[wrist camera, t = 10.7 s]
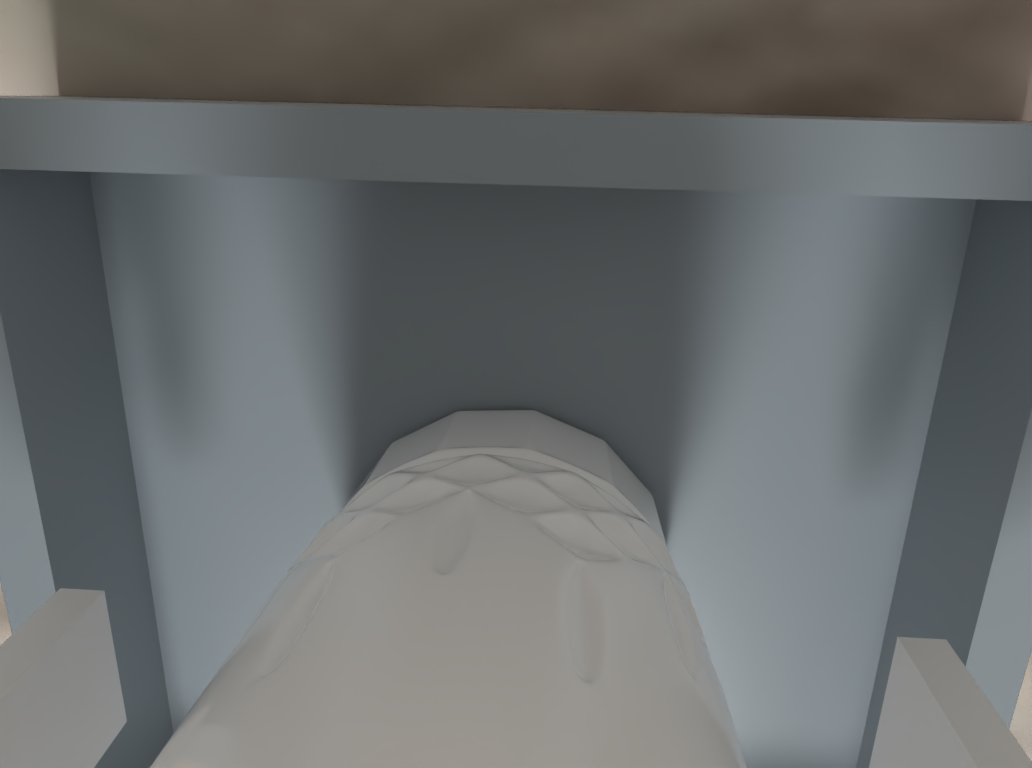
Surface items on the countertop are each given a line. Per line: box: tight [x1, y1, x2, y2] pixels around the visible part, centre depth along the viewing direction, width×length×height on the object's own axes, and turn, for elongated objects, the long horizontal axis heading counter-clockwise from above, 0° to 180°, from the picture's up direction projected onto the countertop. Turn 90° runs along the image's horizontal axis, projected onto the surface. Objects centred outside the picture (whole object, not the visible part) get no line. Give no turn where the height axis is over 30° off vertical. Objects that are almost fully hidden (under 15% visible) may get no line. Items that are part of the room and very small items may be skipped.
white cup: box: [149, 410, 747, 768], centre depth 12 cm, size 8×8×10 cm
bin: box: [0, 96, 1032, 768], centre depth 16 cm, size 18×18×4 cm
